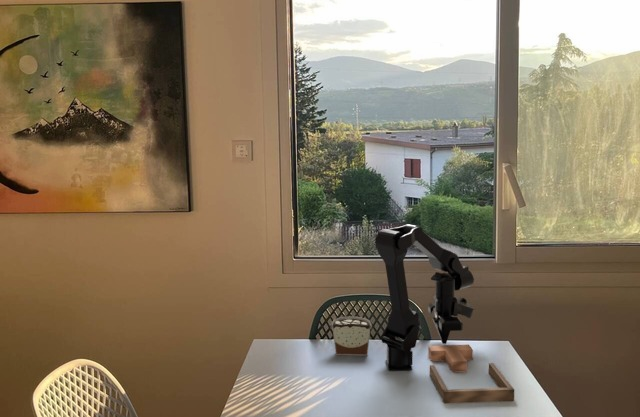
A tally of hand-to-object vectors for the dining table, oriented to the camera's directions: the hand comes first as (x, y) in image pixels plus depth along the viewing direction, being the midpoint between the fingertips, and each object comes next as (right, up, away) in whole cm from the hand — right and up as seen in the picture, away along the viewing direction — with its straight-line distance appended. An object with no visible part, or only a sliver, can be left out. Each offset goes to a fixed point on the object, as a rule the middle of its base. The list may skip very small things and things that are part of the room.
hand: (444, 343), depth 185 cm
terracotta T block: (0, -3, -11) cm, 11 cm away
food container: (-28, -2, -1) cm, 28 cm away
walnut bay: (+1, -6, -27) cm, 27 cm away
